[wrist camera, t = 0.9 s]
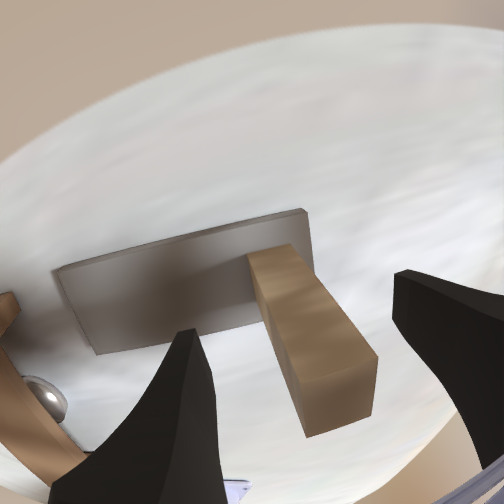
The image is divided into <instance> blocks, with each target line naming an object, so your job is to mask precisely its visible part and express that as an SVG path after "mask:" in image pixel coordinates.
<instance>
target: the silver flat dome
mask: <svg viewBox="0 0 504 504" xmlns="http://www.w3.org/2000/svg"><path fill="white" fill-rule="evenodd" d="M22 379H23V381H24V382H25V383H26V385H27V386H28V388H29V389H30V390H31V392H32V393H33V394H34V396H35V397H36V398H37V400H38V401H39V402H40V403H41V405H42V406H43V407H44V409H45V410H46V411H47V412H48V414H49V415H50V416H51V417H52V418H53V420H54V421H55V422H56V423H57V424H58V423H61V422H62V421H63V420H64V418H65V415H66V412H67V408H68V404H67V401H66V399H65V397H64V395H63V394H62V393H61V392H60V391H59V390H58V389H57V388H56V387H55V386H54V385H52V384H51V383H49V382H48V381H46V380H44V379H42V378H39V377H36V376H24V377H22Z"/></svg>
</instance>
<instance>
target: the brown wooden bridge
mask: <svg viewBox="0 0 504 504" xmlns="http://www.w3.org/2000/svg"><path fill="white" fill-rule="evenodd" d="M20 311H21V309H20V307H19V305H18V303H17V301H16V299H15V297H14V295H13V293H12V292H9V293H5V294H2V295H0V338H1V336H2V335H3V334H4V332H5V331H6V329H7V328H8V327H9V325H10V324H11V323H12V321H13V320H14V319H15V317H16V316H17V315H18V314H19V312H20ZM0 442H1V443H2V444H3V445H4V446H5V447H6V448H7V449H8V450H9V451H10V452H11V453H12V454H13V455H14V456H15V457H16V458H17V459H18V460H19V461H20V462H21V463H22V464H23V465H24V466H26V467H27V468H28V469H29V470H30V471H31V472H32V473H33V474H35V475H36V476H37V477H38V478H39V479H41V480H42V481H43V482H44V483H45V484H47V485H48V486H49V487H50V488H51V486H52V483H53V482H54V481H56V480H57V479H59V478H60V477H62V476H63V475H65V474H66V473H67V472H69V471H70V470H72V469H73V468H74V467H76V466H77V465H78V464H80V463H81V462H82V461H83V460H85V459H86V458H87V457H88V456H89V455H91V454H92V453H83V452H82V451H81V450H80V449H79V448H78V446H77V445H76V444H75V443H74V442H73V441H72V440H71V439H70V438H69V437H68V436H67V435H66V433H65V432H64V431H63V430H62V429H61V428H60V427H59V425H58V424H57V423H56V422H55V421H54V420H53V418H52V417H51V416H50V415H49V414H48V412H47V411H46V410H45V409H44V407H43V406H42V405H41V403H40V402H39V401H38V400H37V398H36V397H35V396H34V394H33V393H32V392H31V390H30V389H29V388H28V386H27V385H26V383H25V382H24V381H23V379H22V378H21V376H20V375H19V373H18V372H17V370H16V369H15V367H14V366H13V364H12V363H11V361H10V360H9V358H8V357H7V355H6V353H5V352H4V350H3V349H2V347H1V345H0Z"/></svg>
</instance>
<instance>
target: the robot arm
mask: <svg viewBox="0 0 504 504" xmlns="http://www.w3.org/2000/svg"><path fill="white" fill-rule="evenodd" d="M392 320H393V321H394V323H395V325H396V326H397V328H398V330H399V331H400V333H401V334H402V336H403V337H404V339H405V340H406V341H407V342H408V344H409V345H410V346H411V347H412V348H413V350H414V351H415V352H416V353H417V354H418V355H419V357H420V358H421V359H422V360H423V361H424V362H425V364H426V365H427V366H428V367H429V368H430V369H431V371H432V372H433V373H434V374H435V375H436V377H437V378H438V379H439V381H440V382H441V383H442V385H443V386H444V388H445V389H446V391H447V393H448V394H449V396H450V397H451V399H452V401H453V402H454V404H455V406H456V408H457V410H458V411H459V413H460V415H461V417H462V419H463V421H464V423H465V425H466V427H467V429H468V432H469V434H470V436H471V438H472V441H473V444H474V446H475V449H476V452H477V454H478V457H479V460H480V463H481V466H482V469H483V471H481V472H480V473H479V474H477V475H476V476H475V477H473V478H472V479H470V480H469V481H467V482H466V483H464V484H463V485H461V486H460V487H458V488H457V489H455V490H454V491H452V492H450V493H449V494H447V495H446V496H444V497H442V498H440V499H439V500H437V501H435V502H434V503H432V504H471V503H473V502H474V501H476V500H477V499H478V498H480V497H481V496H482V495H484V494H485V493H486V492H488V491H489V490H490V489H492V488H493V487H494V486H496V485H497V484H498V483H499V482H501V481H502V480H503V479H504V295H498V294H493V293H488V292H484V291H480V290H477V289H473V288H469V287H466V286H462V285H459V284H456V283H453V282H450V281H446V280H443V279H440V278H437V277H434V276H431V275H428V274H424V273H421V272H417V271H413V270H408V269H407V270H404V271H401V272H398V273H395V274H394V294H393V311H392ZM251 487H252V483H251V482H243V481H223V476H222V471H221V465H220V458H219V449H218V430H217V410H216V395H215V389H214V383H213V377H212V371H211V369H210V366H209V363H208V361H207V358H206V356H205V353H204V350H203V347H202V345H201V342H200V339H199V336H198V334H197V331H196V328H192V329H188V330H183V331H179V332H177V334H176V335H175V337H174V339H173V341H172V343H171V346H170V348H169V350H168V352H167V354H166V355H165V357H164V359H163V361H162V363H161V365H160V367H159V369H158V370H157V372H156V374H155V376H154V378H153V379H152V381H151V383H150V384H149V386H148V387H147V389H146V391H145V392H144V394H143V395H142V397H141V398H140V400H139V401H138V403H137V404H136V406H135V407H134V408H133V410H132V411H131V412H130V414H129V415H128V416H127V417H126V419H125V420H124V421H123V422H122V423H121V424H120V425H119V427H118V428H117V429H116V430H115V431H114V432H113V433H112V434H111V435H110V436H109V437H108V438H107V440H106V441H105V442H104V443H103V444H101V445H100V446H99V447H98V448H97V449H96V450H95V451H94V452H93V453H92V454H91V455H89V456H88V457H87V458H86V459H85V460H83V461H82V462H81V463H80V464H78V465H77V466H76V467H74V468H73V469H72V470H70V471H69V472H67V473H66V474H65V475H63V476H62V477H60V478H59V479H57V480H56V481H54V482H53V483H52V486H51V490H50V495H49V500H48V504H240V503H239V501H240V500H241V499H242V498H243V496H244V495H245V494H246V493H247V492H248V490H249V489H250V488H251ZM484 504H504V486H503V487H502V488H501V489H500V490H499V491H498V492H497V493H496V494H495V495H493V496H492V497H491V498H490V499H489V500H488V501H486V502H485V503H484Z"/></svg>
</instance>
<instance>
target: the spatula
mask: <svg viewBox="0 0 504 504" xmlns="http://www.w3.org/2000/svg"><path fill="white" fill-rule="evenodd" d="M57 275H58V277H59V280H60V282H61V284H62V287H63V289H64V291H65V294H66V296H67V298H68V300H69V302H70V305H71V307H72V309H73V311H74V313H75V315H76V317H77V319H78V321H79V323H80V325H81V327H82V329H83V331H84V333H85V335H86V337H87V339H88V341H89V343H90V344H91V346H92V348H93V350H94V352H95V354H96V355H102V354H108V353H114V352H120V351H126V350H132V349H137V348H143V347H148V346H154V345H159V344H164V343H169V342H172V341H173V339H174V337H175V335H176V334H177V332H179V331H183V330H188V329H192V328H196V331H197V334H198V336H203V335H207V334H212V333H216V332H220V331H225V330H229V329H233V328H238V327H242V326H246V325H250V324H254V323H258V322H262V321H264V324H265V327H266V329H267V332H268V335H269V338H270V340H271V343H272V346H273V349H274V351H275V354H276V357H277V360H278V362H279V365H280V368H281V371H282V373H283V376H284V379H285V382H286V384H287V387H288V390H289V392H290V395H291V398H292V401H293V403H294V406H295V409H296V411H297V414H298V417H299V419H300V422H301V425H302V428H303V430H304V433H305V436H306V438H309V437H312V436H315V435H319V434H322V433H325V432H328V431H331V430H334V429H337V428H340V427H342V426H345V425H348V424H351V423H353V422H356V421H359V420H361V419H364V418H366V417H369V416H371V413H372V406H373V399H374V391H375V383H376V375H377V366H378V356H377V354H376V353H375V352H374V350H373V349H372V348H371V346H370V345H369V344H368V343H367V341H366V340H365V339H364V337H363V336H362V335H361V333H360V332H359V331H358V329H357V328H356V327H355V325H354V324H353V323H352V321H351V320H350V319H349V318H348V316H347V315H346V314H345V312H344V311H343V310H342V309H341V307H340V306H339V305H338V303H337V302H336V301H335V299H334V298H333V297H332V296H331V294H330V293H329V292H328V291H327V289H326V288H325V287H324V285H323V284H322V283H321V282H320V280H319V279H318V278H317V277H316V275H315V272H314V263H313V254H312V245H311V237H310V228H309V220H308V212H306V211H305V210H304V209H302V208H300V209H295V210H291V211H286V212H281V213H277V214H272V215H268V216H263V217H259V218H254V219H250V220H245V221H241V222H236V223H232V224H228V225H223V226H219V227H215V228H211V229H206V230H202V231H198V232H194V233H190V234H186V235H181V236H177V237H173V238H169V239H165V240H161V241H157V242H153V243H149V244H145V245H141V246H137V247H133V248H129V249H126V250H122V251H118V252H114V253H110V254H106V255H103V256H99V257H95V258H91V259H88V260H84V261H80V262H77V263H73V264H69V265H66V266H62V268H61V269H60V270H59V271H58V272H57Z"/></svg>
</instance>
